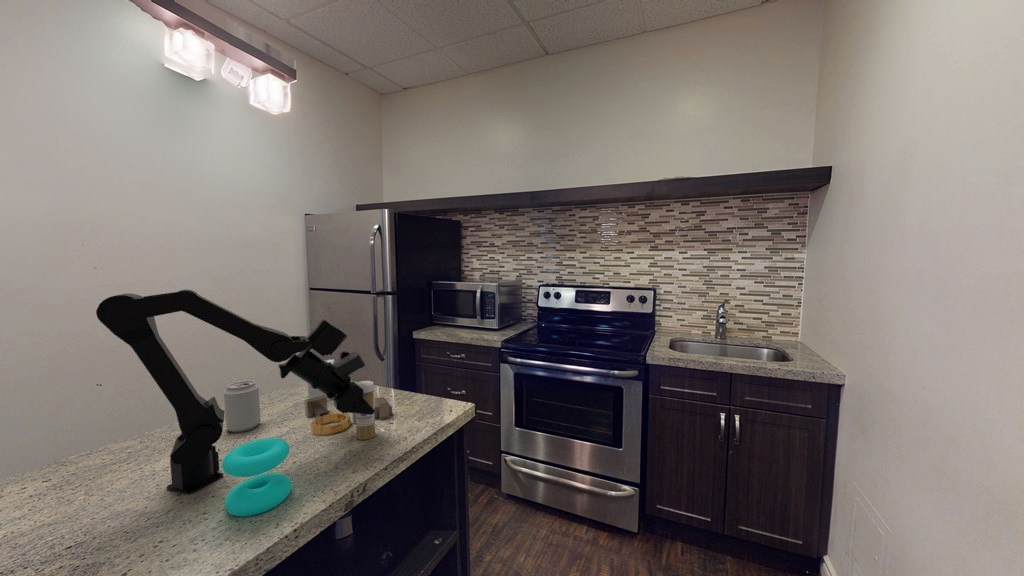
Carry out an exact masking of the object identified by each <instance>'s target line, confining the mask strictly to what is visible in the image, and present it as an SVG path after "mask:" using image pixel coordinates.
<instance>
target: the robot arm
mask: <svg viewBox="0 0 1024 576" xmlns="http://www.w3.org/2000/svg"><path fill="white" fill-rule="evenodd" d="M95 311H96V313H95V314H96V315H95V316H96V317H97V319H98V321H99V322H100V323H101V324H103V326H105V327H106V329H108V331H110V333H112V334H113V335H114V336H116V337H117V338H118V339H119V340H121V341H122V342H124V343H125V344H127V345H129V346H130V347H131V349H132V350H133V352H135V355H137V357H138V359H139V361H140V362H141V363H142V364H143V366H144V367H145V369H146V370H147V372H148V373H149V375H150V376H151V377H152V379H153V380H154V381H155V383H156V384H157V387H159V389H160V390H161V392H162V393H163V395H164V396H165V398H166V399H167V401H168V402H169V403H170V405H171V406H172V408H173V409H174V411H175V414H176V418H177V422H178V425H179V429H180V432H181V434H180V435H178V436H177V437H176V438H175V440H174V441H175V442H174V445H173V447H172V449H171V452H170V455H169V463H170V465H169V466H170V477H171V483H170V484H168V485H167V486H166V490H168V491H173V492H177V493H182V494H186V495H190V494H192V493H194V492H196V491H198V490H200V489H202V488H204V487H206V486H208V485H209V484H211V483H213V482H215V481H217V480H218V479H221V478H223V477H224V473H223V472H220V460H219V451H217V447H216V445H214V444H215V443H217V442H218V441H219V440H220V439H221V437H222V435H223V429H224V421H225V409H224V410H223V409H222V408H221V407H220V405H219V404H218V401H217V399H216V397H215V396H212V397H211V398H210V399H208V400H207V399H206V398H204V397H202V396H201V395H200V394H199V393H198V392H197V390H196V389H195V387H194V386H193V384H192V383H191V381H190V379H189V377H187V375H186V373H185V371H184V370H183V369H182V367H181V366H180V364H179V362H178V361H177V360H176V359H175V356H174V355H173V354H172V353H171V351H170V349H169V348H168V346H167V345H166V343H165V342H164V340H163V339H162V338H161V336H160V334H159V330H158V327H157V322H156V318H155V317H157V316H162V315H167V314H173V313H178V312H184V313H186V314H188V315H190V316H192V317H194V318H197V319H198V320H200V321H203V322H205V323H207V324H209V325H211V326H213V327H215V328H216V329H219V330H221V331H223V332H226V333H227V334H230V335H232V336H233V337H236V338H238V339H240V340H242V341H243V342H245V343H246V344H247V345H249V346H250V347H252V348H253V349H254V350H255V351H256V352H258V353H259V354H261V355H262V356H264V357H265V358H267V360H269V361H271V362H274V363H279V364H278V365H277V366H278V368H279V375H280V378H281V379H285V378H287V376H288V375H289V374H290V373H292V374H294V375H295V376H296V377H298V378H300V379H301V380H302V381H304V382H305V383H306V384H308V383H309V384H310V385H311V386H312V388H314V389H318V390H319V391H321V392H322V393H324V394H326V396H327V397H328V398H329V399H331V400H332V398H333V406H334V407H335V409H336V410H338V412H339V413H343V414H344V413H345V414H348V413H350V414H352V413H361V414H370V415H372V414H373V413H374V412H375V410H374V409H373V408H372V407H371V406H370V405H369V404H368V403H367V402H366V400H365V399H364V398H363V393H364V390H363V389H362V388H361V387H360V386H359V385H358V384H356V383H357V382H354V381H351V376H350V375H351V374H353V373H354V372H356V371H358V370H359V369H362V368H364V367H365V366H366V363H365V361H364V360H363V358H362V356H361V355H360V353H358V352H357V351H351V353H350V352H348V351H347V350H343V351H341V352H339V359H338V360H337V362H334V364H332V363H330V362H325V361H324V359H322V358H321V357H319V355H321V356H322V357H328V356H332V355H333V353H334V352H336V350H337V349H338V348H339V347H340V346H341V345H342V344H343V343H344V341H345V340H346V339H347V338H348V337H349V336H348V335H347V334H346V333H345V332H344V331H342V330H341V329H339V328H338V327H336V326H335V325H332V324H331V323H329V322H328V321H327V320H326V319H321V320H320V321H319V322H318V324H317V325H316V327H315V328H314V329H313V330H312V331H311V332H310V333H309V334H308V335H307V336H306V335H289V334H288V333H286V332H284V331H280V330H278V329H275V328H271V327H267V326H264V325H260V324H258V323H255V322H252V321H251V320H248V319H246V318H244V317H242V315H241V316H240V315H239V314H237V313H235V312H233V311H231V310H229V309H227V308H225V307H223V306H222V305H219V304H217V303H215V302H213V301H211V300H210V299H207V298H206V297H203V295H200V294H199V293H198V292H196V291H194V290H193V289H181V290H179V291H175V292H167V293H160V294H152V295H145V296H142V295H139V294H135V293H127V292H126V293H121V294H117V295H113V296H109V297H107V298H105V299H103V300H102V301H101V302H100V303H99V305H98V306H97V308H96V310H95ZM311 350H313V351H315V352H316V353H318V354H319V355H317V354H315V352H312V351H311ZM282 362H285V363H282Z"/></svg>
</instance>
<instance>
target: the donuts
mask: <svg viewBox="0 0 1024 576" xmlns="http://www.w3.org/2000/svg"><path fill="white" fill-rule="evenodd" d="M289 453H290V445H289V444H288V442H287V441H286V440H284V439H282V438H277V437H276V438H275V437H268V438H267V437H266V438H261V439H260V438H259V439H256V440H253V441H252V440H251V441H248V442H245V443H242V444H240V445H239V446H236V447H234V448H233V449H231V450H230V451H229V452H228V453H227V454H226V455H225V456H224V457H223V460H222V462H221V467H222V470H223V472H224V473H225V474H227V475H228V476H230V477H235V478H247V477H250V478H247V479H245V480H244V481H242V482H240V483H239V484H237V485H236V486H234V487H233V488H232V490H231V491H229V493H228V494H227V496H226V498H225V502H224V508H225V510H226V512H228V513H229V514H230V515H232V516H236V517H250V516H255V515H258V514H262V513H264V512H265V513H266V512H267V511H269V510H271V509H274V508H275V507H277V506H278V505H280V504H281V503H282V502H284V500H286V499H287V498H288V496H289V494H291V491H292V488H293V487H292V481H291V479H290V478H289V477H288V475H285V474H284V473H280V472H279V473H278V472H270V471H272V470H274V469H275V468H277V467H278V466H279V465H281V464H282V463H283V462H284V461H285V460H286V459H287V457H288V456H289ZM267 472H268V473H267Z"/></svg>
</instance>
